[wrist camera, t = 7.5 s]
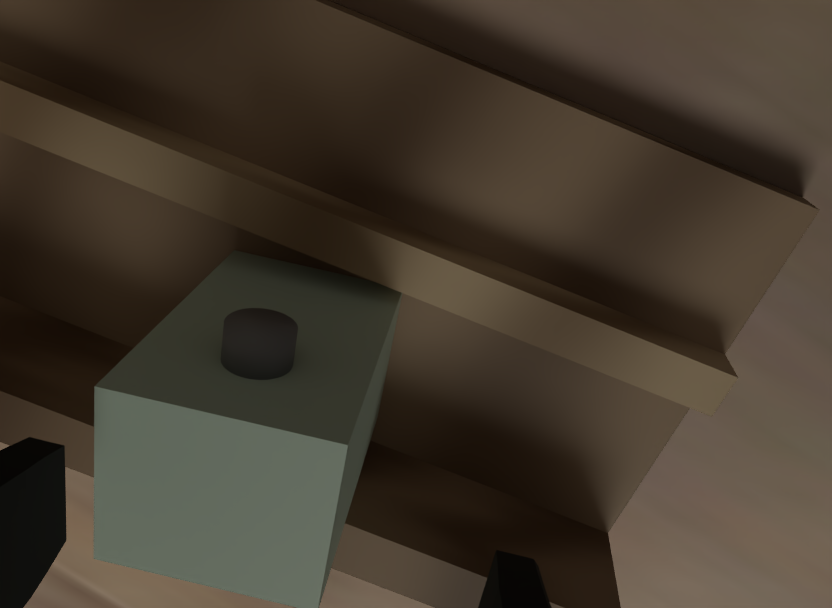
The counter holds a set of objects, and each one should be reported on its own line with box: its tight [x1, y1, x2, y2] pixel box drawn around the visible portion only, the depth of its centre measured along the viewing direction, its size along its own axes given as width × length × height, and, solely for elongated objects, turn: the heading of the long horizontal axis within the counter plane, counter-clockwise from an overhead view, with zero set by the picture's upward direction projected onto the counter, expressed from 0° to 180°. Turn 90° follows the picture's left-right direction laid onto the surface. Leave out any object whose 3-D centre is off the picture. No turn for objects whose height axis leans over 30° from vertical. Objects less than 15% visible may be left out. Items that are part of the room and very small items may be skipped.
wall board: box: [0, 0, 819, 608], centre depth 18 cm, size 20×12×4 cm, turn 69°
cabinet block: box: [94, 250, 402, 608], centre depth 16 cm, size 4×5×7 cm
